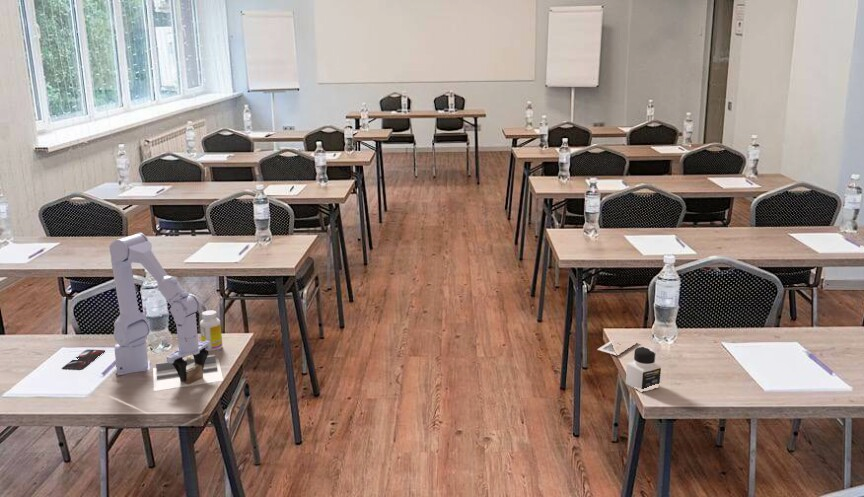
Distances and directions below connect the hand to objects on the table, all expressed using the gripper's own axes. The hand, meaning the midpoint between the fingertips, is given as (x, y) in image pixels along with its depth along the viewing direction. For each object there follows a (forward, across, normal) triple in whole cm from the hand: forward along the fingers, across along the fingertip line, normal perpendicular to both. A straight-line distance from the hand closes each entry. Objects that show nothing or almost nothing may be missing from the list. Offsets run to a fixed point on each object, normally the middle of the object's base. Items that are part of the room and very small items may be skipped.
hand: (191, 376), depth 228 cm
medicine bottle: (+2, +75, -115) cm, 137 cm away
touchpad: (+2, +98, -98) cm, 139 cm away
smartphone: (+2, -10, +42) cm, 43 cm away
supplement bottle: (+2, +20, +15) cm, 25 cm away
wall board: (+2, +2, +4) cm, 5 cm away
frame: (+1, 0, 0) cm, 1 cm away
